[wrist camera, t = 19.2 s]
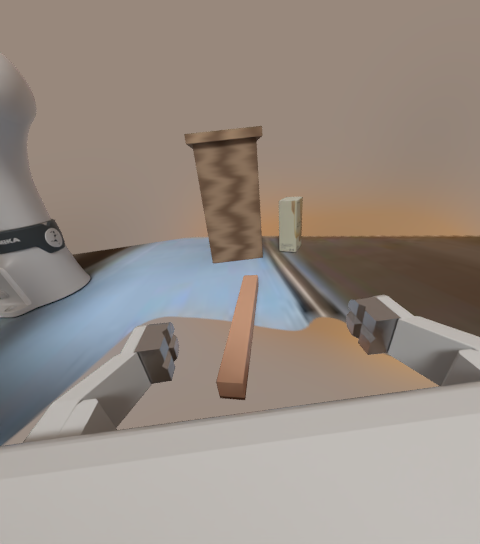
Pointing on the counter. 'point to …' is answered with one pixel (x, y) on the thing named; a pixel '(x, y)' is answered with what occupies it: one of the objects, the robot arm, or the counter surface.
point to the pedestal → (229, 191)
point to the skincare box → (290, 223)
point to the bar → (239, 343)
